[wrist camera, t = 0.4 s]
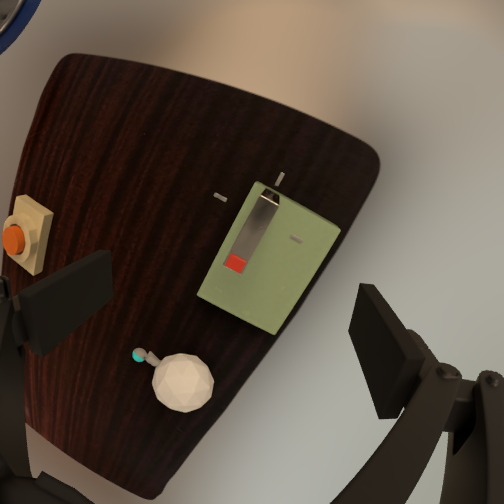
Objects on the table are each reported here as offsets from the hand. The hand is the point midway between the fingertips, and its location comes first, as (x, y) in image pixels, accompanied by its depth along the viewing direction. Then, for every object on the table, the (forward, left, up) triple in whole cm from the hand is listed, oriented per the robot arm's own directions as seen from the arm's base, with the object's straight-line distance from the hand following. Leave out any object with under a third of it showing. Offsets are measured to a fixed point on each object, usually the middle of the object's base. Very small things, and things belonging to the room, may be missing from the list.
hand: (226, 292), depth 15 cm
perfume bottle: (+19, -11, -20) cm, 30 cm away
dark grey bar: (-1, 0, -17) cm, 17 cm away
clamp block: (+2, 0, -20) cm, 20 cm away
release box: (+1, -34, -20) cm, 39 cm away
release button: (+1, -34, -16) cm, 38 cm away
